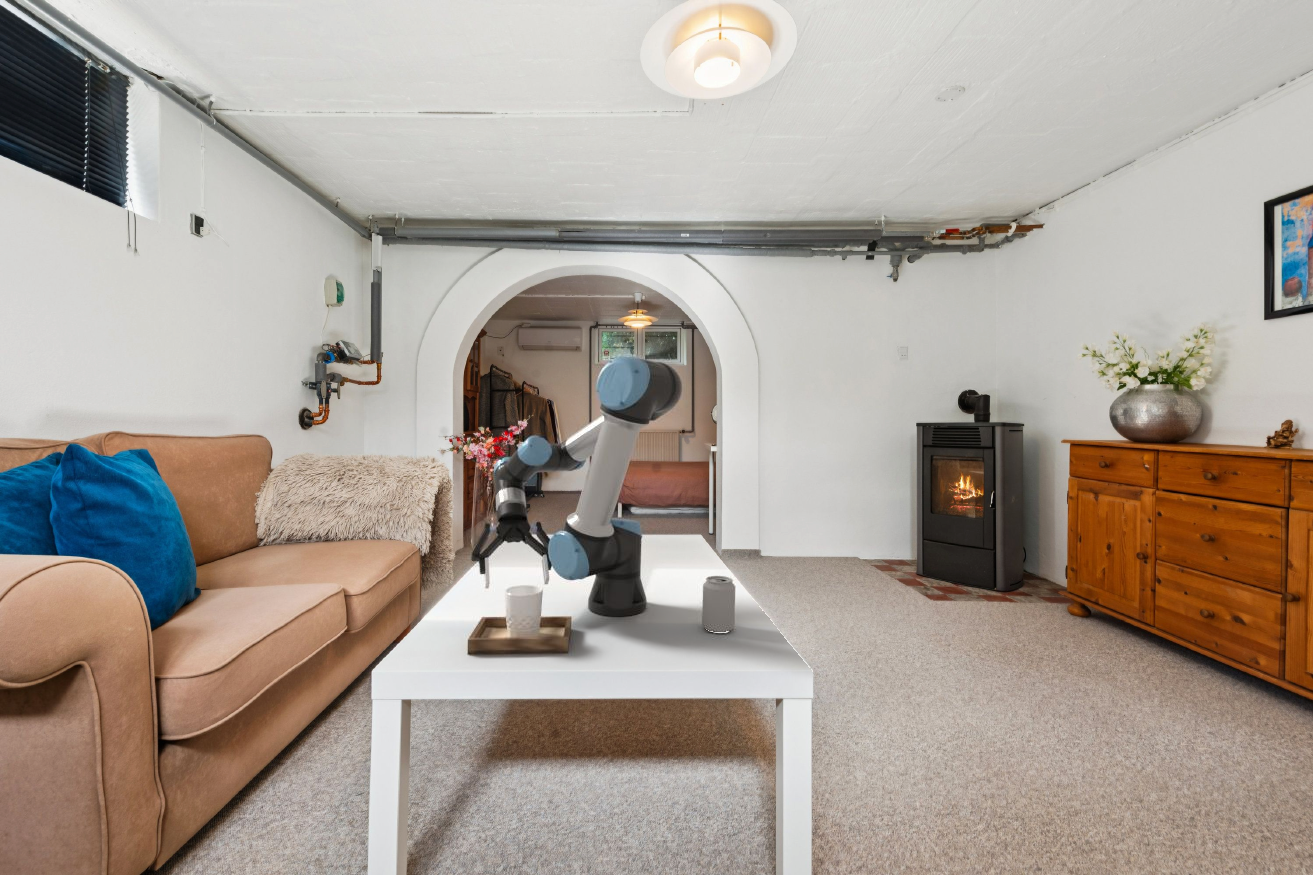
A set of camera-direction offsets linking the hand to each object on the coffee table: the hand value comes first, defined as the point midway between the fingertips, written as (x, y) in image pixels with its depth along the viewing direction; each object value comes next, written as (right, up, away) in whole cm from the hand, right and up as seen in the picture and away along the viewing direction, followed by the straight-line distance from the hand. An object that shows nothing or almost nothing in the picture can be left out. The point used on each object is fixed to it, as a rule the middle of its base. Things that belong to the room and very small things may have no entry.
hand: (517, 583), depth 133 cm
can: (+47, -11, 0) cm, 48 cm away
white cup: (+4, -9, -10) cm, 14 cm away
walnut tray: (+3, -10, -10) cm, 14 cm away
